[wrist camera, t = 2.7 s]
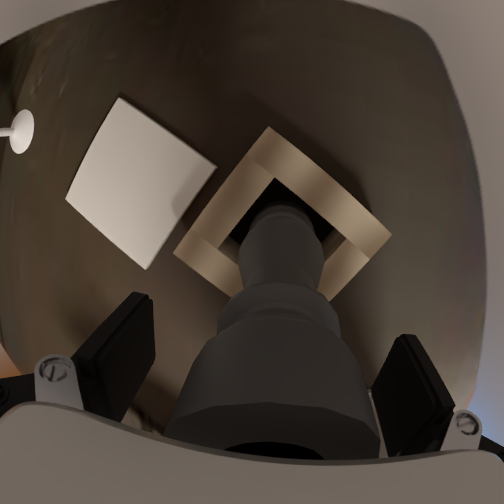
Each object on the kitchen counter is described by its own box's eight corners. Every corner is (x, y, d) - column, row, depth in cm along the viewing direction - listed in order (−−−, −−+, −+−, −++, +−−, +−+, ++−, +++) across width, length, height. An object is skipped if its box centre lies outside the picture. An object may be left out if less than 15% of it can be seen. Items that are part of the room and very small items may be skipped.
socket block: (375, 222, 28) (391, 234, 23) (289, 314, 32) (289, 339, 28) (270, 132, 26) (268, 126, 22) (189, 238, 31) (172, 253, 26)
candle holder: (263, 190, 28) (168, 348, 5) (321, 212, 28) (440, 414, 5) (243, 246, 30) (145, 473, 7) (298, 266, 30) (318, 511, 7)
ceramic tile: (217, 167, 28) (215, 167, 27) (149, 266, 32) (145, 269, 31) (123, 99, 26) (118, 97, 25) (70, 197, 31) (65, 199, 30)
